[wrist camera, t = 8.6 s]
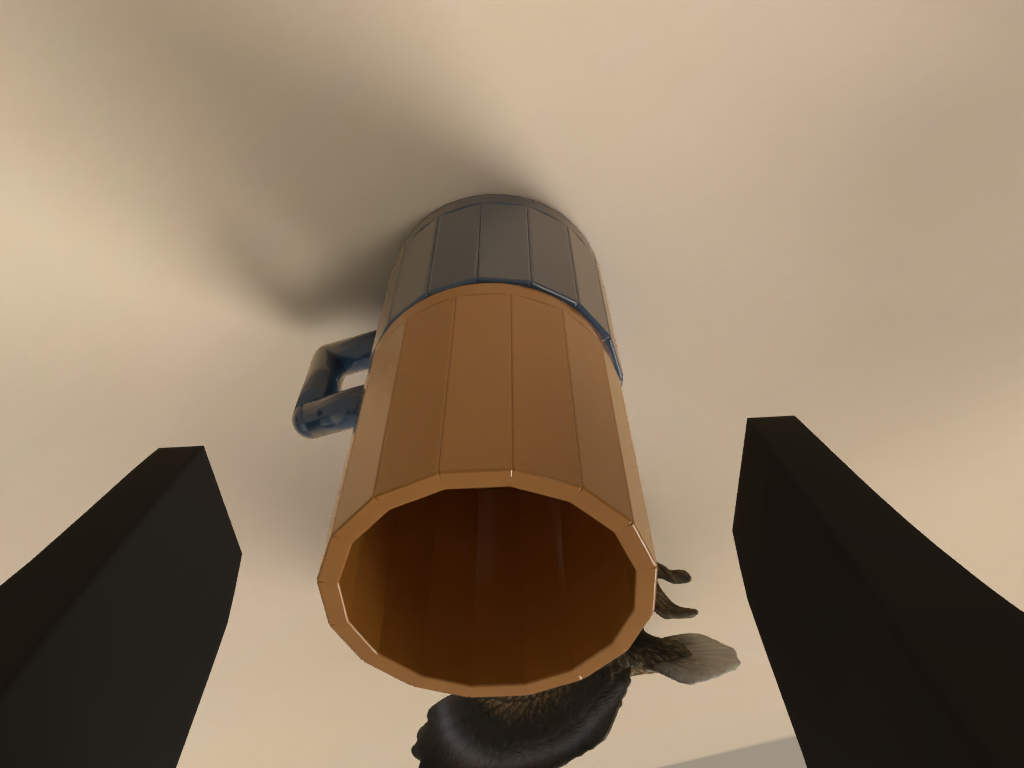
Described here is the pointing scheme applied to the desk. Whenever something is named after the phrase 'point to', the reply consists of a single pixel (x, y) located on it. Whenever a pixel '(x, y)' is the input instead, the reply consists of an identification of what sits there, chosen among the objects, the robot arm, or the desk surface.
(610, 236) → the desk surface
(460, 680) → the orange tumbler
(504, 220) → the cup
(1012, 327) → the desk surface
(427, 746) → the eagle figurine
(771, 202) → the desk surface
